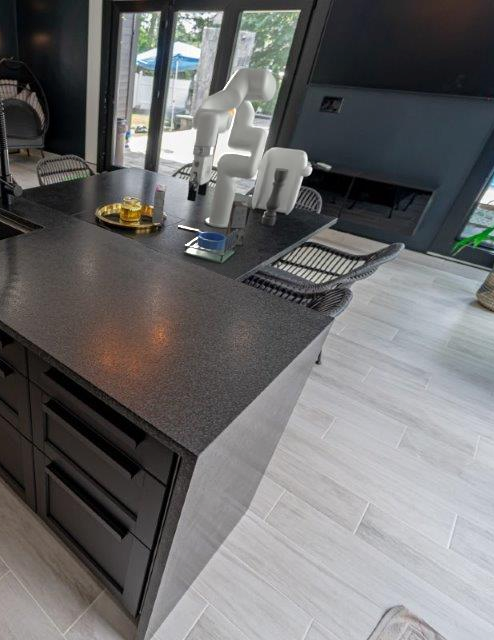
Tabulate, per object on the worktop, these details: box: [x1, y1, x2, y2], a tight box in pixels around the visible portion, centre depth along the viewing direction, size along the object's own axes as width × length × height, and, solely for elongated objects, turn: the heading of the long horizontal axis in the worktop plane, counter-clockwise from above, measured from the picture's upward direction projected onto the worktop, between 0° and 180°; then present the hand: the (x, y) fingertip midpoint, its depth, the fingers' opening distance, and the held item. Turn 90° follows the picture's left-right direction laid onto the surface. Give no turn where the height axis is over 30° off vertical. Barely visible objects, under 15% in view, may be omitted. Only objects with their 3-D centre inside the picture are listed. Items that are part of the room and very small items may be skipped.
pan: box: [177, 224, 226, 250], centre depth 163 cm, size 11×20×5 cm, turn 54°
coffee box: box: [225, 200, 252, 246], centre depth 172 cm, size 9×6×16 cm
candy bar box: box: [151, 184, 168, 227], centre depth 190 cm, size 11×5×16 cm, turn 168°
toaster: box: [251, 146, 313, 216], centre depth 208 cm, size 27×11×30 cm, turn 58°
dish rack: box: [183, 229, 238, 264], centre depth 162 cm, size 14×16×10 cm
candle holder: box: [260, 168, 289, 227], centre depth 190 cm, size 6×6×25 cm
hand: (196, 197), depth 158 cm, fingers open, 9 cm apart
